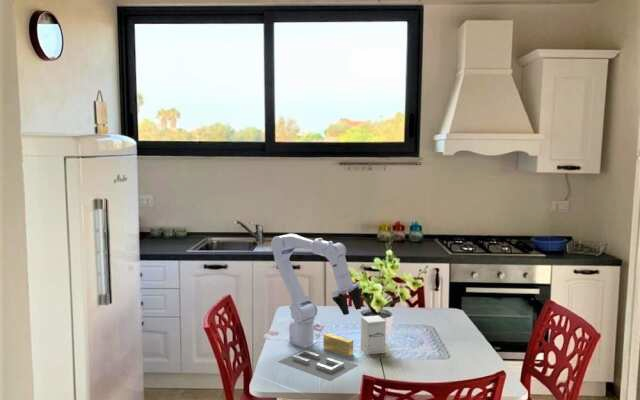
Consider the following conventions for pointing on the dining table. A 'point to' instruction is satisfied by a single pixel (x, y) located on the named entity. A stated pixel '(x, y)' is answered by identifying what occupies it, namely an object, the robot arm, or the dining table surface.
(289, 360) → the mat
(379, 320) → the supplement box
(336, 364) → the pair of white brackets
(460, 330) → the dining table surface
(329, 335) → the yellow gripped block
